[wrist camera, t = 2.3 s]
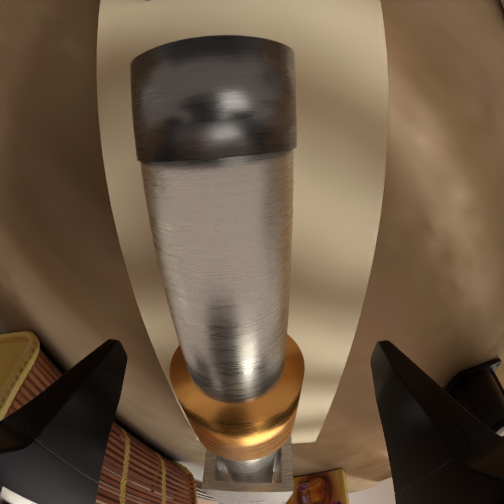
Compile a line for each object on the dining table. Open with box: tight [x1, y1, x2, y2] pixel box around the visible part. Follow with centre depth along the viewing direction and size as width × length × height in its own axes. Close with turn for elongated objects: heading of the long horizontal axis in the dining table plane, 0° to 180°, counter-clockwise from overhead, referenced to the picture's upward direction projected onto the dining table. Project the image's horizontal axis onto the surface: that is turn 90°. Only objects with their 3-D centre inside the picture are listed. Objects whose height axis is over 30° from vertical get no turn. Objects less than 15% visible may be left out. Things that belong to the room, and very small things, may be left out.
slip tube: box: [130, 35, 305, 483], centre depth 9 cm, size 22×3×3 cm, turn 2°
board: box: [97, 0, 389, 443], centre depth 11 cm, size 33×10×1 cm, turn 2°
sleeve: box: [202, 435, 294, 504], centre depth 13 cm, size 9×4×6 cm, turn 2°
